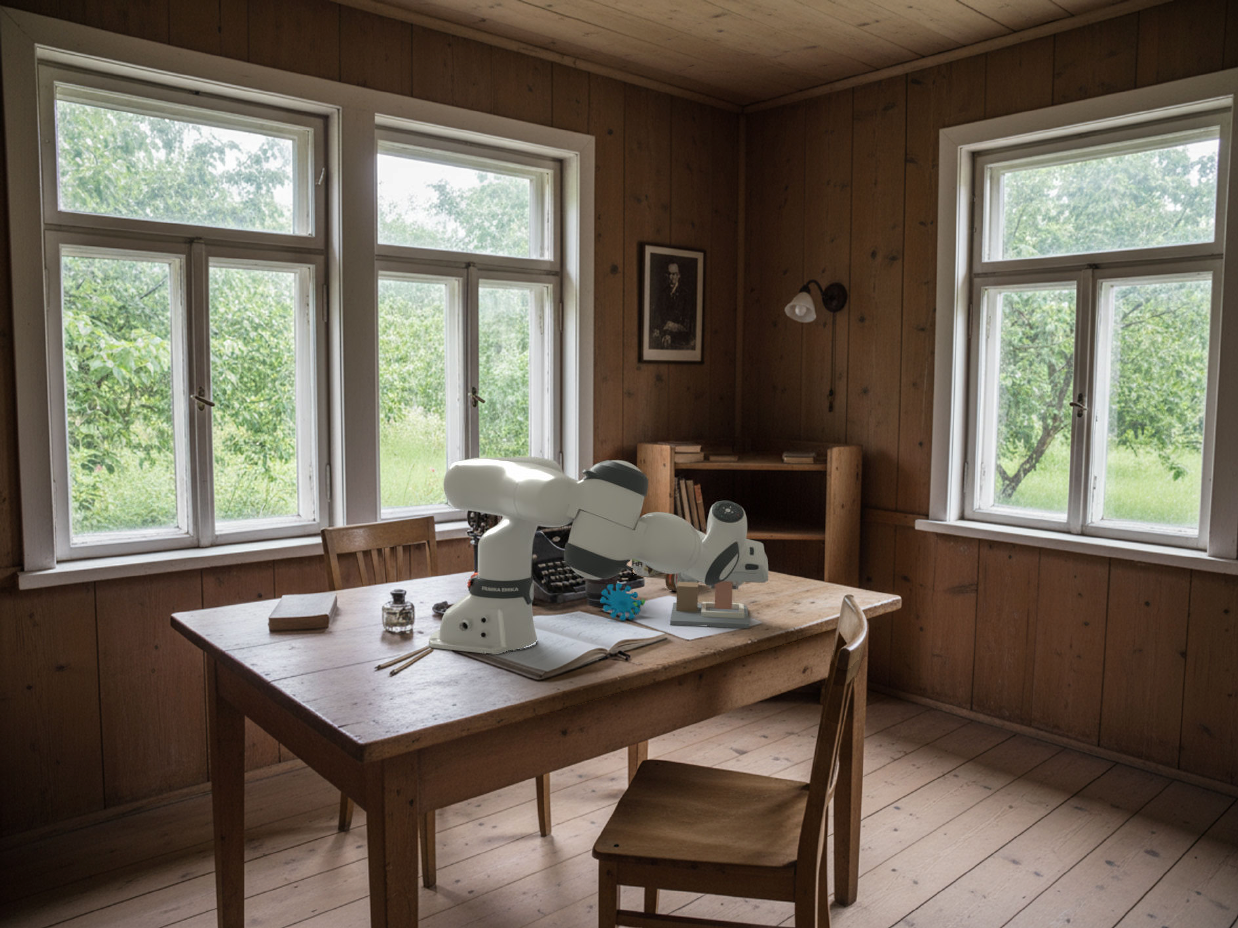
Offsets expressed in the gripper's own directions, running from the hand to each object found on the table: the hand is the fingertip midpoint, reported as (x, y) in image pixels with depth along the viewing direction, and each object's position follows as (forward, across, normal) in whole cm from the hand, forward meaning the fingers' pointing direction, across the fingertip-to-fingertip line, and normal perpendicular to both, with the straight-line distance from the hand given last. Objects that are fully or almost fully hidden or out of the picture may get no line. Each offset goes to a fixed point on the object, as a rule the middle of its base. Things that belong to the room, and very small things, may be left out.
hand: (723, 586), depth 222 cm
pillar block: (+3, 0, -4) cm, 5 cm away
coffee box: (+39, -21, +29) cm, 53 cm away
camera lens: (+11, -30, 0) cm, 32 cm away
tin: (+26, -10, +15) cm, 32 cm away
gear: (+2, -24, -9) cm, 25 cm away
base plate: (+4, -3, -6) cm, 8 cm away
